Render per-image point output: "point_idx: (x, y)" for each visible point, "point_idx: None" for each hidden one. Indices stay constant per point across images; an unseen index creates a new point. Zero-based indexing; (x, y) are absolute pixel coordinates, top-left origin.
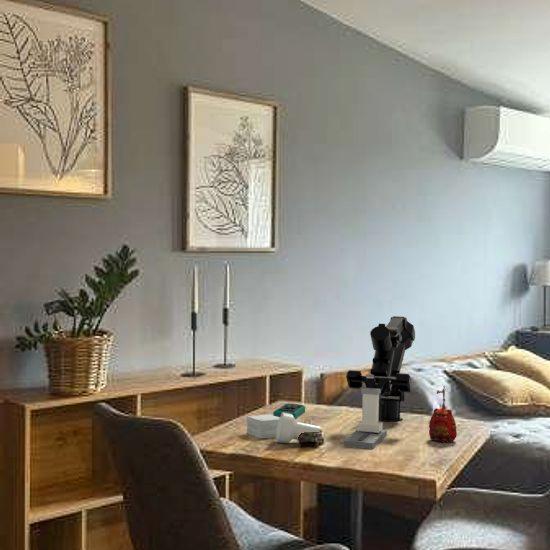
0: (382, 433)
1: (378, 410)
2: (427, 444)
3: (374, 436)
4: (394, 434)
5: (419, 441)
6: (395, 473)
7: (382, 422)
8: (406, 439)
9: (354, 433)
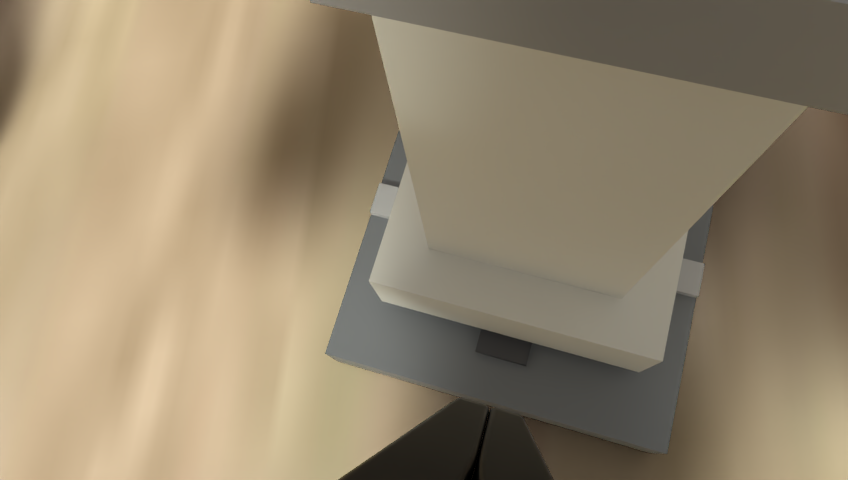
0: (397, 162)
1: (415, 181)
2: (31, 37)
3: None
4: (242, 431)
5: (66, 137)
6: None
7: (369, 279)
8: (167, 201)
9: None
